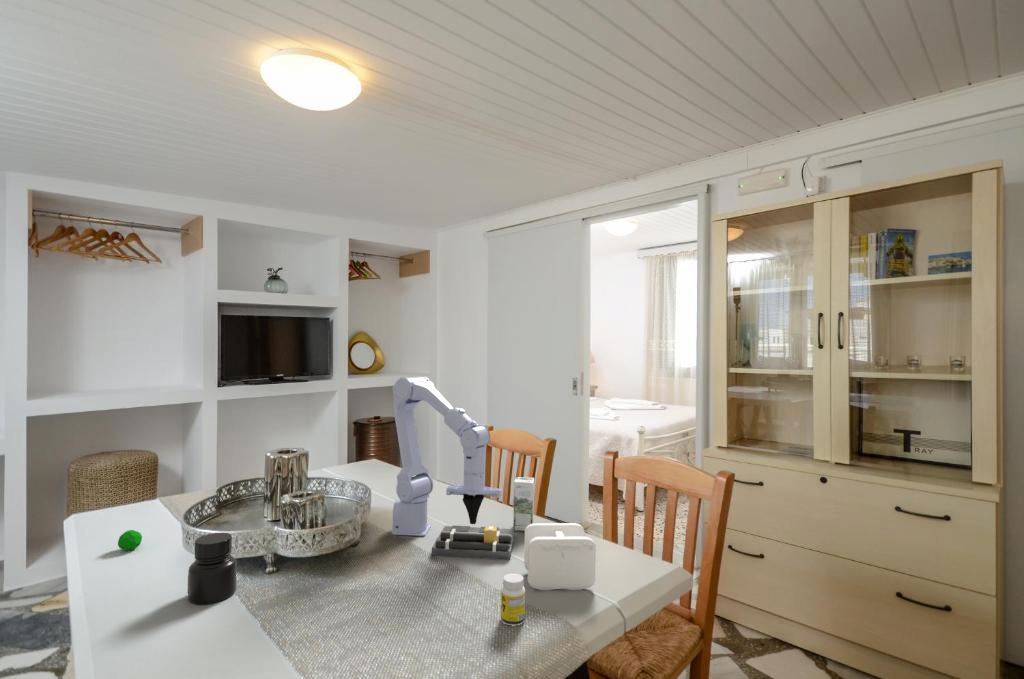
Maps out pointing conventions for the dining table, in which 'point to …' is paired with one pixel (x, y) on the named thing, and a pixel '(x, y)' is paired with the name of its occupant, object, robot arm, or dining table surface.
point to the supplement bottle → (513, 599)
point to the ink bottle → (212, 569)
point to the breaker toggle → (490, 534)
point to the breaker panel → (474, 552)
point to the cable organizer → (559, 556)
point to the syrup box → (523, 503)
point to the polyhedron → (129, 540)
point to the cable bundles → (475, 537)
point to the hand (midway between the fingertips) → (473, 522)
